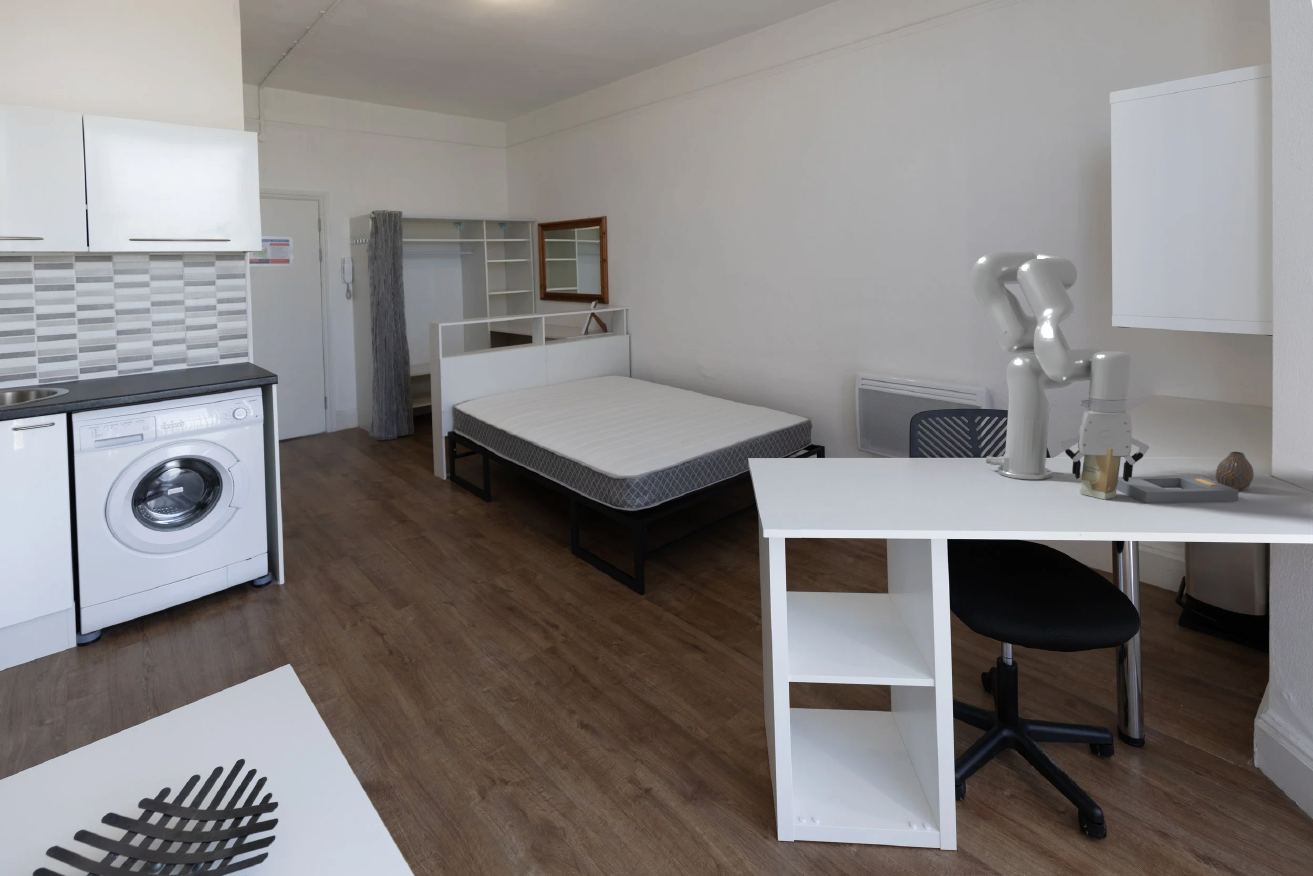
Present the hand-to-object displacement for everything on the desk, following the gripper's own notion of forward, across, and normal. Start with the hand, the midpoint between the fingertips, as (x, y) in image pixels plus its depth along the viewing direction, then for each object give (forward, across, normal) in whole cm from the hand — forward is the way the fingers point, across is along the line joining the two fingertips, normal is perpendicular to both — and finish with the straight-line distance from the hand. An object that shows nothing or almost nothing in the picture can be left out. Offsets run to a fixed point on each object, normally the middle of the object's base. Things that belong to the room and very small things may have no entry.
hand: (1101, 478), depth 165 cm
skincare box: (+4, 0, 0) cm, 4 cm away
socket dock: (+4, +15, +7) cm, 17 cm away
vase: (+4, +29, +16) cm, 33 cm away
